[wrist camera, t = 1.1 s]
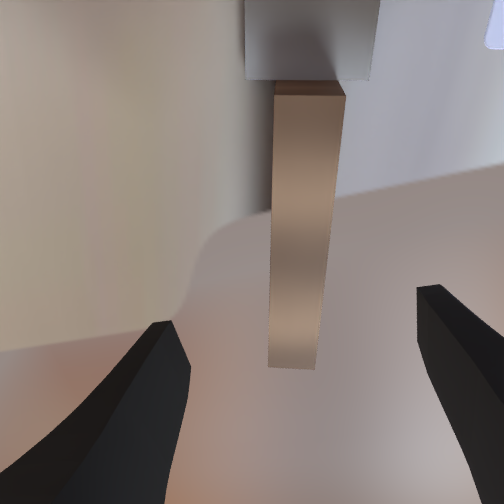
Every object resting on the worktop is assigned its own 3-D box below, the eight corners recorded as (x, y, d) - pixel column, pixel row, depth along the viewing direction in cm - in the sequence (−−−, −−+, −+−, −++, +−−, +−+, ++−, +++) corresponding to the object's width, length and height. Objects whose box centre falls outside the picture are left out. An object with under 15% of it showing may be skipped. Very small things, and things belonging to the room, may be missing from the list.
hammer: (331, 319, 25) (338, 370, 22) (250, 316, 25) (244, 366, 22) (384, -74, 15) (413, -92, 11) (246, -72, 15) (234, -88, 12)
